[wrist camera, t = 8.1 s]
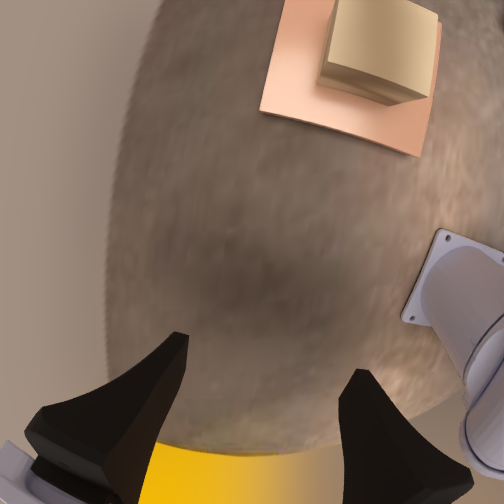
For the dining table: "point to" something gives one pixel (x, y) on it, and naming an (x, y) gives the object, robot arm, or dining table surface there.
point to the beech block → (379, 50)
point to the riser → (331, 100)
